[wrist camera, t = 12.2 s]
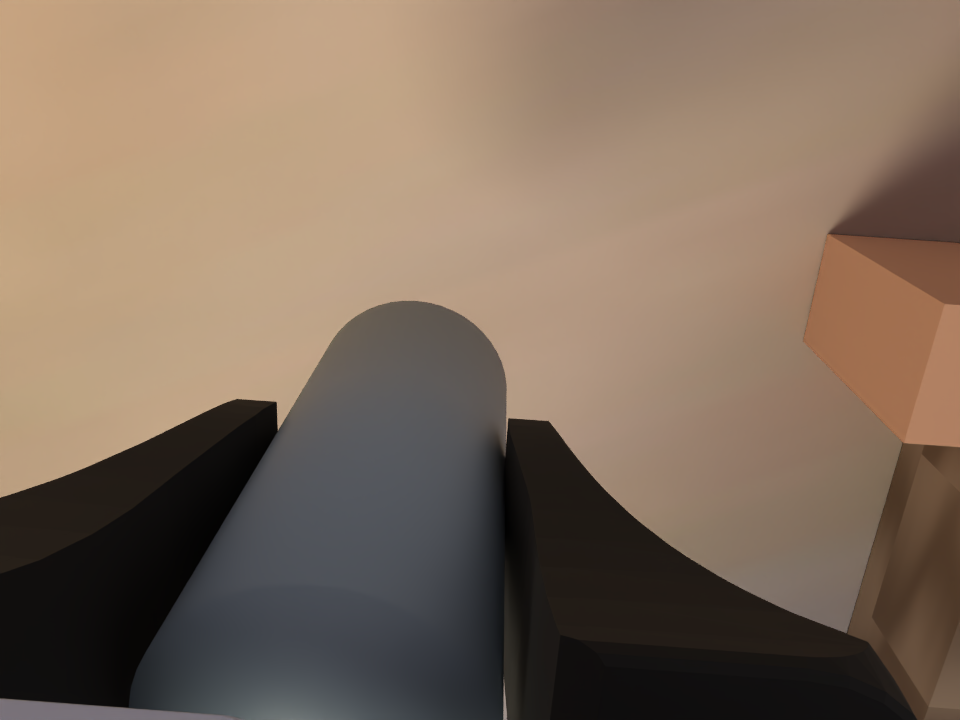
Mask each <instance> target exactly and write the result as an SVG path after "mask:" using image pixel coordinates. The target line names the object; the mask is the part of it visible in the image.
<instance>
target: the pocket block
mask: <svg viewBox="0 0 960 720" xmlns="http://www.w3.org/2000/svg"><path fill="white" fill-rule="evenodd" d="M847 634H849V635H851V636H854V637H857V638H859V639H862V640H865V641H867V642H869V644H870V645H871V647H872V648H873V650H874V651H875V652H876V654H877V655H878V656H879V658H880V659H881V661H882V662H883V664H884V665H885V667H886V668H887V670H888V671H889V672H890V674H891V675H892V677H893V678H894V680H895V681H896V683H897V685H898V686H899V688H900V690H901V692H902V693H903V695H904V697H905V699H906V700H907V702H908V704H909V705H910V707H911V709H912V711H913V713H914V715H915V716H916V718H917V720H960V447H951V446H937V445H923V444H908V443H903V445H902V449H901V452H900V455H899V459H898V462H897V466H896V469H895V472H894V476H893V479H892V483H891V486H890V489H889V493H888V496H887V500H886V503H885V506H884V510H883V513H882V517H881V520H880V523H879V527H878V530H877V534H876V537H875V540H874V544H873V547H872V551H871V554H870V557H869V561H868V564H867V568H866V571H865V574H864V578H863V581H862V585H861V588H860V591H859V595H858V598H857V602H856V605H855V608H854V612H853V615H852V619H851V622H850V625H849V629H848V632H847Z"/></svg>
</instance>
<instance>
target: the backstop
mask: <svg viewBox="0 0 960 720" xmlns="http://www.w3.org/2000/svg"><path fill="white" fill-rule="evenodd" d="M803 341H804V342H805V343H806V344H807V345H808V346H809V348H810V349H811V350H812V351H813V352H814V353H815V354H816V355H817V356H818V357H819V358H820V359H821V360H822V361H823V362H824V363H825V364H826V365H827V366H828V367H829V368H830V369H831V370H832V371H833V372H834V373H835V374H836V375H837V376H838V377H839V378H840V379H841V380H842V381H843V382H844V383H845V384H846V385H847V386H848V387H849V388H850V389H851V390H852V391H853V392H854V393H855V394H856V395H857V396H858V397H859V398H860V399H861V400H862V401H863V402H864V403H865V404H866V405H867V406H868V407H869V408H870V409H871V410H872V411H873V412H874V413H875V414H876V416H877V417H878V418H879V419H880V420H881V421H882V422H883V423H884V424H885V425H886V426H887V427H888V428H889V429H890V430H891V431H892V432H893V433H894V434H895V435H896V436H897V437H898V438H899V439H900V440H901V441H902V442H903V443H908V444H923V445H937V446H951V447H960V243H952V242H938V241H923V240H908V239H894V238H879V237H865V236H850V235H835V234H828V235H827V239H826V244H825V248H824V253H823V257H822V261H821V266H820V270H819V274H818V279H817V283H816V288H815V292H814V296H813V301H812V305H811V309H810V314H809V318H808V323H807V327H806V331H805V336H804V340H803Z"/></svg>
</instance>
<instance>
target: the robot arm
mask: <svg viewBox="0 0 960 720" xmlns="http://www.w3.org/2000/svg"><path fill="white" fill-rule="evenodd" d="M277 432H278V428H277V402H270V401H256V400H242V399H236V400H233V401H230V402H227V403H224V404H222V405H220V406H217V407H215V408H213V409H211V410H209V411H206V412H204V413H202V414H200V415H198V416H196V417H194V418H192V419H190V420H188V421H186V422H184V423H182V424H180V425H178V426H176V427H174V428H172V429H170V430H168V431H166V432H164V433H162V434H160V435H157V436H155V437H153V438H151V439H149V440H147V441H145V442H143V443H141V444H139V445H136V446H134V447H132V448H130V449H127V450H125V451H123V452H121V453H118V454H116V455H114V456H111V457H109V458H107V459H105V460H102V461H100V462H98V463H96V464H93V465H91V466H89V467H86V468H84V469H81V470H79V471H76V472H74V473H71V474H69V475H66V476H63V477H61V478H58V479H55V480H53V481H50V482H47V483H44V484H41V485H38V486H35V487H32V488H29V489H26V490H23V491H20V492H17V493H14V494H11V495H8V496H4V497H1V498H0V720H243V719H239V718H236V717H232V716H228V715H216V714H202V713H189V712H175V711H162V710H149V709H135V708H129V699H130V691H131V686H132V682H133V679H134V676H135V673H136V670H137V668H138V666H139V664H140V662H141V660H142V658H143V656H144V654H145V652H146V651H147V649H148V647H149V646H150V644H151V642H152V641H153V639H154V637H155V636H156V634H157V632H158V631H159V629H160V627H161V626H162V624H163V622H164V621H165V619H166V617H167V616H168V614H169V612H170V611H171V609H172V607H173V606H174V604H175V602H176V601H177V599H178V597H179V596H180V594H181V592H182V591H183V589H184V587H185V586H186V584H187V582H188V581H189V579H190V577H191V576H192V574H193V572H194V571H195V569H196V567H197V566H198V564H199V562H200V561H201V559H202V557H203V556H204V554H205V552H206V551H207V549H208V547H209V545H210V544H211V542H212V540H213V539H214V537H215V535H216V534H217V532H218V530H219V529H220V527H221V525H222V524H223V522H224V520H225V519H226V517H227V515H228V514H229V512H230V510H231V509H232V507H233V505H234V504H235V502H236V500H237V499H238V497H239V495H240V494H241V492H242V490H243V489H244V487H245V485H246V484H247V482H248V480H249V479H250V477H251V475H252V474H253V472H254V470H255V469H256V467H257V465H258V464H259V462H260V460H261V459H262V457H263V455H264V454H265V452H266V450H267V449H268V447H269V445H270V444H271V442H272V440H273V439H274V437H275V435H276V434H277ZM504 683H505V695H506V707H507V720H917V718H916V716H915V715H914V713H913V711H912V709H911V707H910V705H909V704H908V702H907V700H906V699H905V697H904V695H903V693H902V692H901V690H900V688H899V686H898V685H897V683H896V681H895V680H894V678H893V677H892V675H891V674H890V672H889V671H888V670H887V668H886V667H885V665H884V664H883V662H882V661H881V659H880V658H879V656H878V655H877V654H876V652H875V651H874V650H873V648H872V647H871V645H870V644H869V642H867V641H865V640H862V639H859V638H857V637H854V636H851V635H849V634H846V633H844V632H841V631H838V630H836V629H833V628H830V627H828V626H825V625H823V624H820V623H817V622H815V621H812V620H809V619H807V618H804V617H802V616H799V615H796V614H794V613H791V612H789V611H787V610H785V609H782V608H780V607H778V606H776V605H774V604H772V603H770V602H768V601H766V600H764V599H761V598H759V597H757V596H755V595H753V594H751V593H749V592H747V591H745V590H743V589H741V588H739V587H737V586H735V585H734V584H732V583H730V582H728V581H726V580H724V579H722V578H721V577H719V576H717V575H716V574H714V573H712V572H711V571H709V570H707V569H706V568H704V567H702V566H701V565H699V564H698V563H696V562H694V561H693V560H691V559H689V558H688V557H686V556H685V555H683V554H682V553H680V552H679V551H677V550H676V549H674V548H673V547H671V546H670V545H669V544H667V543H666V542H665V541H663V540H662V539H661V538H659V537H658V536H657V535H656V534H654V533H653V532H652V531H650V530H649V529H648V528H646V527H645V526H644V525H643V524H641V523H640V522H639V521H638V520H637V519H635V518H634V517H633V516H632V515H631V514H630V513H628V512H627V511H626V510H625V509H624V508H623V507H622V506H621V505H620V504H619V503H618V502H617V501H616V500H615V499H614V498H613V497H612V496H611V495H609V494H608V493H607V492H606V491H605V490H604V488H603V487H602V486H601V485H600V484H599V483H598V482H597V481H596V480H595V479H594V478H593V476H592V475H591V474H590V473H589V472H588V471H587V470H586V468H585V467H584V466H583V465H582V464H581V462H580V461H579V460H578V459H577V457H576V456H575V455H574V454H573V452H572V451H571V450H570V448H569V447H568V446H567V444H566V443H565V442H564V440H563V439H562V438H561V436H560V435H559V434H558V432H557V431H556V430H555V428H554V427H553V426H552V425H551V423H550V422H549V421H538V420H524V419H510V418H508V430H507V442H506V454H505V586H504Z"/></svg>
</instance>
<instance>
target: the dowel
mask: <svg viewBox="0 0 960 720" xmlns="http://www.w3.org/2000/svg"><path fill="white" fill-rule="evenodd" d="M505 454H506V378H505V373H504V369H503V366H502V362H501V360H500V358H499V356H498V353H497V351H496V350H495V348H494V347H493V345H492V343H491V342H490V341H489V339H488V338H487V337H486V336H485V334H484V333H483V332H482V331H481V330H480V329H479V328H478V327H477V326H476V325H474V324H473V323H472V322H470V321H469V320H468V319H466V318H465V317H463V316H462V315H460V314H458V313H456V312H454V311H452V310H450V309H447V308H445V307H442V306H439V305H435V304H432V303H427V302H419V301H399V302H390V303H387V304H383V305H379V306H376V307H374V308H371V309H369V310H366V311H365V312H363V313H361V314H359V315H358V316H356V317H355V318H353V319H352V320H351V321H349V322H348V323H347V324H346V325H345V326H344V327H343V328H342V329H341V330H340V331H339V332H338V333H337V335H336V336H335V337H334V339H333V340H332V342H331V343H330V345H329V347H328V348H327V350H326V352H325V353H324V355H323V357H322V358H321V360H320V362H319V363H318V365H317V367H316V368H315V370H314V372H313V373H312V375H311V377H310V378H309V380H308V382H307V383H306V385H305V387H304V388H303V390H302V392H301V393H300V395H299V397H298V398H297V400H296V402H295V403H294V405H293V407H292V408H291V410H290V412H289V414H288V415H287V417H286V419H285V420H284V422H283V424H282V425H281V427H280V429H279V430H278V432H277V434H276V435H275V437H274V439H273V440H272V442H271V444H270V445H269V447H268V449H267V450H266V452H265V454H264V455H263V457H262V459H261V460H260V462H259V464H258V465H257V467H256V469H255V470H254V472H253V474H252V475H251V477H250V479H249V480H248V482H247V484H246V485H245V487H244V489H243V490H242V492H241V494H240V495H239V497H238V499H237V500H236V502H235V504H234V505H233V507H232V509H231V510H230V512H229V514H228V515H227V517H226V519H225V520H224V522H223V524H222V525H221V527H220V529H219V530H218V532H217V534H216V535H215V537H214V539H213V540H212V542H211V544H210V545H209V547H208V549H207V551H206V552H205V554H204V556H203V557H202V559H201V561H200V562H199V564H198V566H197V567H196V569H195V571H194V572H193V574H192V576H191V577H190V579H189V581H188V582H187V584H186V586H185V587H184V589H183V591H182V592H181V594H180V596H179V597H178V599H177V601H176V602H175V604H174V606H173V607H172V609H171V611H170V612H169V614H168V616H167V617H166V619H165V621H164V622H163V624H162V626H161V627H160V629H159V631H158V632H157V634H156V636H155V637H154V639H153V641H152V642H151V644H150V646H149V647H148V649H147V651H146V652H145V654H144V656H143V658H142V660H141V662H140V664H139V666H138V668H137V670H136V673H135V676H134V679H133V682H132V686H131V691H130V699H129V708H135V709H149V710H162V711H175V712H189V713H202V714H216V715H228V716H232V717H236V718H239V719H243V720H503V687H504V586H505Z"/></svg>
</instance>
